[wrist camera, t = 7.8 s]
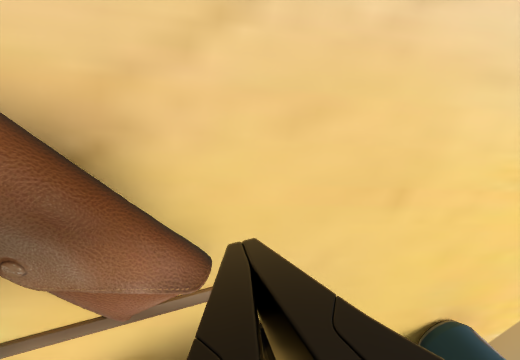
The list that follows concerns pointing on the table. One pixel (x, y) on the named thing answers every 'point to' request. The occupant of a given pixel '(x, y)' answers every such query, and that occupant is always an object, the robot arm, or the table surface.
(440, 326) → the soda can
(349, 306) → the robot arm
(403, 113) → the table surface
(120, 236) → the sunglasses case
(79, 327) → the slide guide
